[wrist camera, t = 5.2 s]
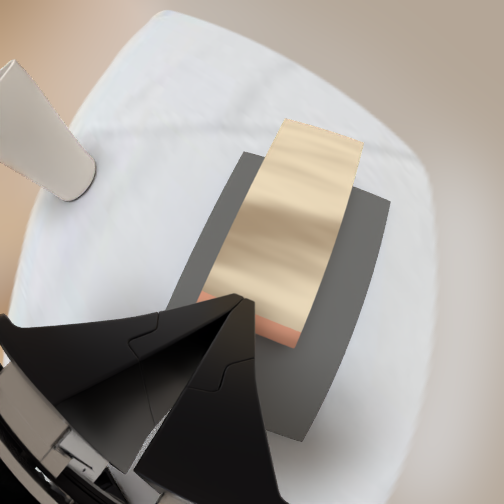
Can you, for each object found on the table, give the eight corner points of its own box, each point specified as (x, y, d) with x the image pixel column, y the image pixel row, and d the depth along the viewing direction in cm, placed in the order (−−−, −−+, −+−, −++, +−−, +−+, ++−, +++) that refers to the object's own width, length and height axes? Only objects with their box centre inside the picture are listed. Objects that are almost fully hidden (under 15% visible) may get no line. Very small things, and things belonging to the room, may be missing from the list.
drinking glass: (115, 157, 23) (27, 49, 9) (80, 217, 22) (-37, 130, 7) (78, 149, 24) (1, 65, 10) (47, 201, 23) (-46, 130, 9)
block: (294, 348, 12) (363, 142, 14) (194, 306, 13) (285, 118, 15) (290, 343, 16) (348, 184, 19) (218, 313, 17) (285, 163, 20)
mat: (301, 439, 15) (301, 442, 14) (144, 367, 17) (141, 367, 17) (388, 204, 19) (390, 201, 18) (244, 155, 21) (243, 151, 21)
